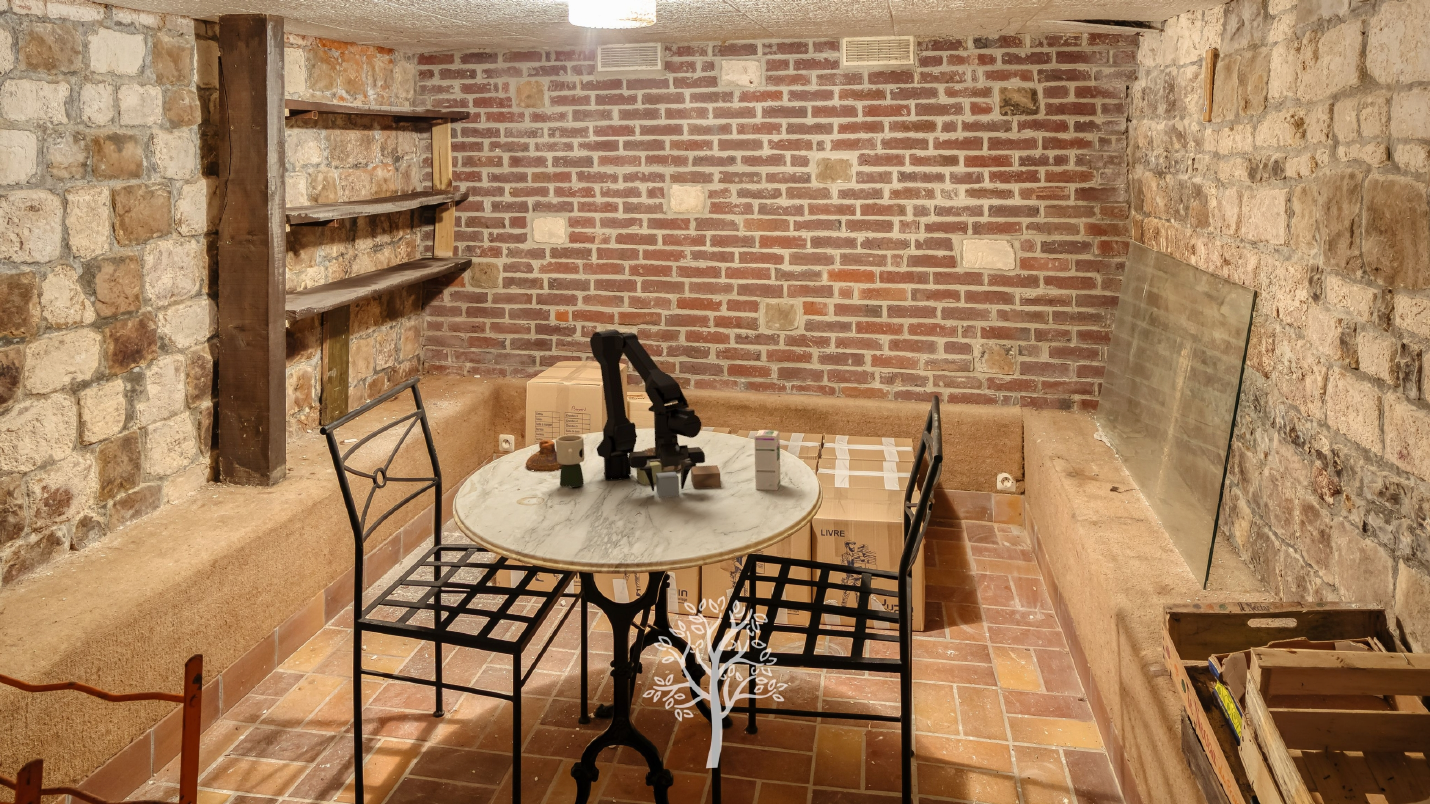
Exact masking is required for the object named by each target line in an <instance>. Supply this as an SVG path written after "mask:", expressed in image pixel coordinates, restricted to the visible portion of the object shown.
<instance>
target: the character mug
mask: <svg viewBox="0 0 1430 804" xmlns="http://www.w3.org/2000/svg"><path fill="white" fill-rule="evenodd" d="M584 441H585V440H584V436H582V435H579V434H565V435H561V436H557V437H556V439H555V450H556V453H557V462H558V463H560V464H562V466H561V469H560V474H559V477H560V478H559V479H560V480H559V486H561V487H570V488H576V487H581V486H583V485H584V484H585V482H584V476H583V474H584V473H583V469H582V465H581V463H583V462H584V461H585V446H584Z"/></svg>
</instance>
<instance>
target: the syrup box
mask: <svg viewBox="0 0 1430 804" xmlns="http://www.w3.org/2000/svg"><path fill="white" fill-rule="evenodd" d="M780 439H781V437H780V430H774V429H773V430H772V429H763V430H762V429H760V430H758V431H757V432H756V433H755V435H754V465H755V466H754V467H755V470H754V472H755V473H754V474H755V475H754V476H755V477H754V478H755V490H758V491H759V490H761V491H778V489H779V487H780V485H781V448H780V447H781V446H780V445H781V443H780V442H781V441H780Z"/></svg>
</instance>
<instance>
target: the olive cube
mask: <svg viewBox="0 0 1430 804" xmlns="http://www.w3.org/2000/svg"><path fill="white" fill-rule="evenodd" d="M650 466H651V468H652V476H653V482H654V484H656V473H662V471H661V464H660V463H659V462H650ZM636 480H637V482H639V483H641V484H642V485H644V486H646V485H650V483H649V480H648V478H647V475H646V473H645V471H644V470H640V469H639V468H636Z"/></svg>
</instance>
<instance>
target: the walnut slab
mask: <svg viewBox="0 0 1430 804" xmlns="http://www.w3.org/2000/svg"><path fill="white" fill-rule="evenodd" d="M690 482H691V484H692V488H693V489H706V488H720V487H722V485H721V471H720V469H719V466H718V465H714V464H713V465H696V466H695V467H692V468H691V469H690Z"/></svg>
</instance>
